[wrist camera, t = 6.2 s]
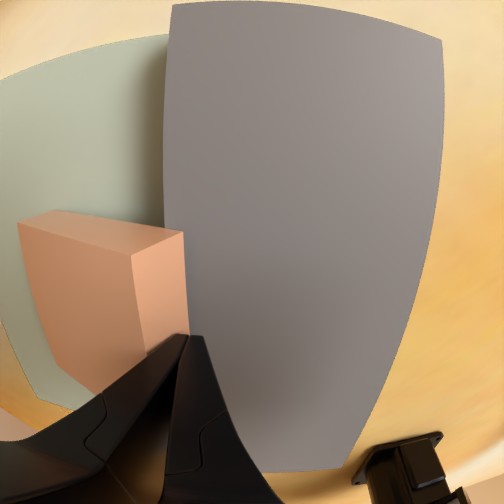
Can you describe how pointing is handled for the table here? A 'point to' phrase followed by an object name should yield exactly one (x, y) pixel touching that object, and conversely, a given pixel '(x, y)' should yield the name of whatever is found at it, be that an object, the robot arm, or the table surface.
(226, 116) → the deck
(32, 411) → the table surface
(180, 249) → the coaster
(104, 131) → the mat
